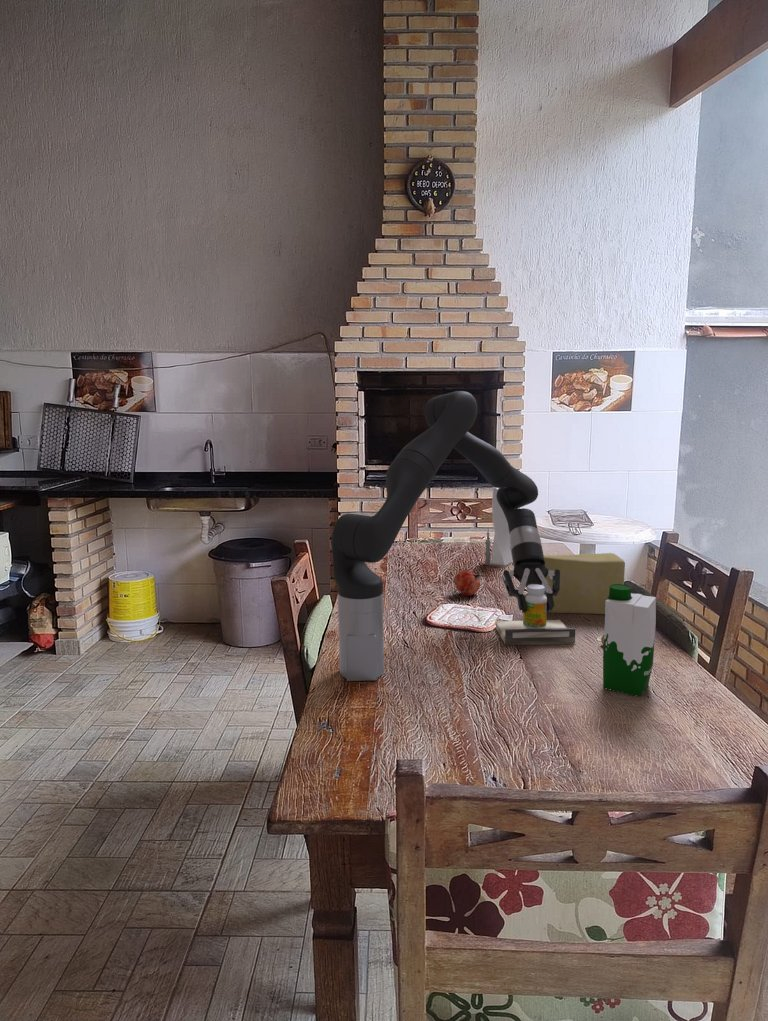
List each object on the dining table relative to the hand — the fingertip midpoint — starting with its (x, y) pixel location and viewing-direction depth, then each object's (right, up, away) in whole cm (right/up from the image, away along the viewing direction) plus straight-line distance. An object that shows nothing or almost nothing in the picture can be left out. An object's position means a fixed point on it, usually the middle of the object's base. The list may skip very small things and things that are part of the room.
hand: (537, 610), depth 160 cm
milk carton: (+12, -12, -24) cm, 29 cm away
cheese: (+15, -3, +21) cm, 26 cm away
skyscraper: (+3, +5, +70) cm, 70 cm away
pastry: (+18, -8, -5) cm, 20 cm away
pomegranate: (-12, -1, +36) cm, 38 cm away
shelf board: (0, -6, +4) cm, 7 cm away
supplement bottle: (0, -4, +3) cm, 5 cm away
